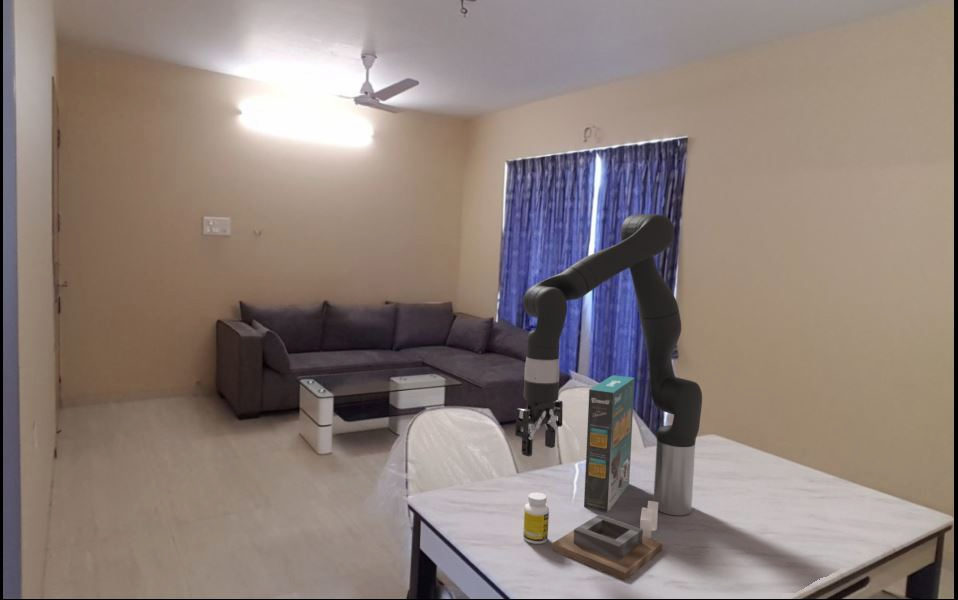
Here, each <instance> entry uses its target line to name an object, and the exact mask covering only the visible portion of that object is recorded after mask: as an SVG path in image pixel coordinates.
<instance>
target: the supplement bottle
mask: <svg viewBox="0 0 958 600" xmlns="http://www.w3.org/2000/svg"><path fill="white" fill-rule="evenodd" d="M527 500H528V501H527V503H526V504H525V506H524V512H523V513H524V514H523V517H524V518H523V532H522V533H523V534H522V535H523V540H524V541H526V542H527V543H530V544H536V545H539V544H545V543H546V542H547V541H548V536H549V522H550V521H549V519H550V517H549V515H550V509H549V506H548V505H547V495H546V494H544V493H542V492H531V493H529V494H528V497H527Z"/></svg>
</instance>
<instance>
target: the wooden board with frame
mask: <svg viewBox="0 0 958 600" xmlns="http://www.w3.org/2000/svg"><path fill="white" fill-rule="evenodd" d="M551 545H552V547H551V548H552V551H554V552H557V553H559V554H561V555H564V556H566V557H568V558H571V559H573V560H576V561H578V562H581V563H583V564H586V565H587V566H590V567H593V568H595V569H596V570H599V571H602V572H604V573H607V574H609V575H612V576H614V577H616V578H618V579H621V580H623V581H626V580H627V579H628V578H630V577H631V576H632V575H634V573H636V572H637V571H638V570H640V568H642V567H643V566H645V564H646V563H648V562H649V561H651V560H652V559H653V558H654V557H655V556H657V555H658V554H659V553H660V552H661V551H663V546H664V545H663V542H661V541H658V540H655V539H653V538H651V539H650V538H647V537H644V536H643V529H640V527H636V526H634V525H631V524H628V523H625V522H623V521H619V520H617V519H613V518H611V517H608V516H606V515H602V514H597V515H595V516H594V517H592V518H591V519H588V520H587V521H586V522H583V524H581V525H579V526H577V527H576V528H574V529H573V530H572V531H570V532H568V533H567V534H565V535H563V536H562V537H560V538H559V539H556V540H555V541H554V542H552V543H551Z"/></svg>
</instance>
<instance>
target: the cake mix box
mask: <svg viewBox="0 0 958 600" xmlns="http://www.w3.org/2000/svg"><path fill="white" fill-rule="evenodd" d="M634 397H635V377H630V376H622V375H611V376H610V377H607V378H606V379H604V380H603V381H601V382H599V383H598V384H596V385H595V386H592V387H591V388H589V389H588V409H587V434H586V450H585V451H586V452H585V453H586V457H585V473H584V474H585V475H584V477H585V478H584V498H583V499H584V500H583V501H584V502H583V507H584V508H588V509H592V510H595V511H601V512H605V513H608V512H609V511H610V510H611V508H612V507H613V506H614V504H615V503H616V501H617V500H618V499H619V498H620V496H621V495H622V494H623V492H624V491H625V490H626V489H627V488H628V486H629V485H630V474H631V473H630V471H631V458H632V457H631V454H632V453H631V452H632V437H633V436H632V434H633V433H632V432H633V418H634V417H633V415H634Z"/></svg>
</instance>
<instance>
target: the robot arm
mask: <svg viewBox="0 0 958 600" xmlns="http://www.w3.org/2000/svg"><path fill="white" fill-rule="evenodd" d="M674 237H675V227H674V224H673V222H672V221H671V219H669V218H668V217H667V216H665V215H664V214H658V213H643V214H642V213H641V214H632V215H629V216H627V217H626V218H625V219H624V220H623V222H622V225H621V228H620V242H619V243H616V244H614V245H612V246H609V247H607V248H603V249H602V250H599V251H596V252H594V253H592V254H590V255H587V256H585V257H583V258H582V259H580V260H579V261H577V262H575V263H574V264H573V265H571V266H569V267H568V268H566V269H564V270H563V271H562V272H560V273H557V274H556V275H553V276H551V277H548V278H547V279H544V280H542V281H539V282H538V283H535V284H534V285H533V286H530V288H529V289H528V290H527V291H526V292H525V294H524V296H523V299H522V307H523V309H524V311H525V312H526V314H528V315H529V316H530V317H533V318H536V319H537V321H536V325H535V329H533V330H531V331H529V332H528V334H527V339H526V358H525V363H524V377H523V378H524V379H523V380H524V381H523V384H524V385H523V399H525V401H526V402H527V405H526V407H525V408H520V407H517V409H516V417H515V418H516V419H515V437H519V438H521V454H522V456H526V457H531V456H533V444H534V443H533V441H534V440H533V437H534V436H535V433H536V432H537V431H539V428H540V427H541V426H543V425H544V426H545V428H546V429H545V432H544V433H545V434H544V435H545V436H544V438H545V439H544V445H545V447H547V448H550V449H553V448H555V446H556V434H557V433H556V432H557V431H558V429H559V427H560V428H561V427H562V426H563V405H564V404H563V401H562V400H559V391H560V390H559V387H560V386H559V385H560V359H559V358H560V357H559V356H560V339H561V336H562V334H563V329H564V326H565V321H566V318H567V314H568V301H572V300H573V301H574V300H579V299H581V298H582V297H584V296H586V295H588V294H589V293H590V292H592V291H594V290H595V289H596V288H597V287H599V286H601V285H602V284H604V283H605V282H607V281H608V280H609V279H611V278H614V277H616V275H618V274H620V273H621V272H624V271H625V270H627V269H629V272H630V275H631V279H632V284H633V288H634V293H635V297H636V302H637V305H638V306H637V308H638V312H639V314H638V315H639V319H640V324H641V329H642V333H643V337H644V343H645V348H646V355H647V361H648V369H649V380H650V381H649V383H650V393H651V398H652V401H653V404H654V406H655V407H656V408H657V409H658V410H660V411H662V412H664V413H666V414H671V415H673V418H672V423H671V424H668V425H663V426H659V428H658V429H657V432H656V445H655V446H656V448H655V470H654V485H653V501H654V502H658V512H660V513H662V514H666V515H672V516H687V515H690V514H691V512H692V508H693V507H692V506H693V505H692V504H693V490H694V488H693V487H694V471H695V457H696V456H695V454H696V440H697V439H696V438H697V436H698V434H699V431H700V425H701V424H700V422H701V414H702V409H703V407H702V406H703V392H702V389H701V387H700V385H699V384H698V383H697V382H695V381H692V380H689V379H686V378H680V377H677V376H676V375H675V372H674V368H673V367H674V366H673V362H672V361H673V359H672V358H673V352H674V349H675V347H676V345H677V343H678V341H679V338H680V337H681V332H682V321H681V316H680V315H681V314H680V310H679V304H678V301H677V299H676V296H675V295H674V293H673V292H672V290H671V289H670V286H669V285H668V284H667V283H666V281H665V279H664V278H663V277H662V275H661V273H660V272H659V269H658V266H657V263H656V260H655V256H656V255H659V254H661V253H663V252H664V251H666V250H667V249H668V248H669V247H670V246H671V245H672V244H673V242H674ZM556 417H557V418H556ZM521 428H522V429H521Z"/></svg>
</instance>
